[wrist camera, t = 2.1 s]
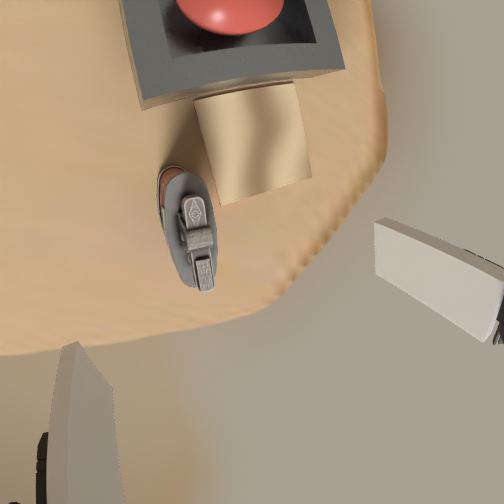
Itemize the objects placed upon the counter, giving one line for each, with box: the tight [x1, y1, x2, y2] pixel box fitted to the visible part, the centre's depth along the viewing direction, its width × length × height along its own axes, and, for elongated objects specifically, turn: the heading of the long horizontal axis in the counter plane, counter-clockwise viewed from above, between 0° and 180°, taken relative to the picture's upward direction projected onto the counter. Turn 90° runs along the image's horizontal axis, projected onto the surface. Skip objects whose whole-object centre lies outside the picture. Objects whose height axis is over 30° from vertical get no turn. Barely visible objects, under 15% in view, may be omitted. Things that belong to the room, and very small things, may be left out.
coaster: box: [193, 83, 312, 206], centre depth 26 cm, size 10×10×1 cm
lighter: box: [157, 166, 218, 293], centre depth 21 cm, size 8×3×10 cm, turn 4°
